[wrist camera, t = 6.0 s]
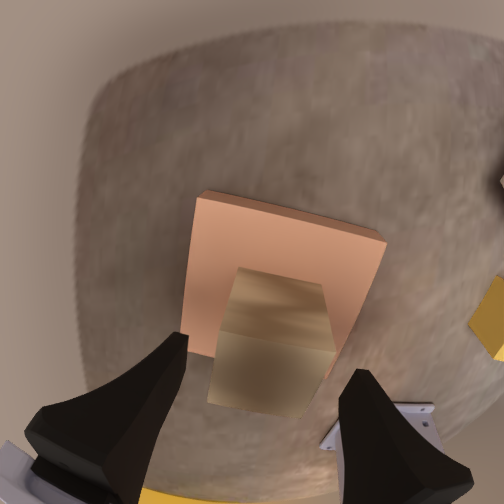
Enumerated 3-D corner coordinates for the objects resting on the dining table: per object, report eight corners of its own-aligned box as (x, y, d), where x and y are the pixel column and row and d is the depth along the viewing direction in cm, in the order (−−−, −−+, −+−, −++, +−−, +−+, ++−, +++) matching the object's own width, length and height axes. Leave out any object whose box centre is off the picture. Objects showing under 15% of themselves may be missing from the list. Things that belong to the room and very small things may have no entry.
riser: (376, 230, 16) (387, 243, 14) (323, 359, 20) (326, 379, 18) (206, 189, 16) (197, 197, 14) (187, 330, 20) (179, 348, 18)
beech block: (321, 284, 16) (336, 352, 11) (298, 347, 17) (301, 418, 12) (238, 266, 16) (219, 330, 11) (225, 332, 17) (206, 402, 12)
